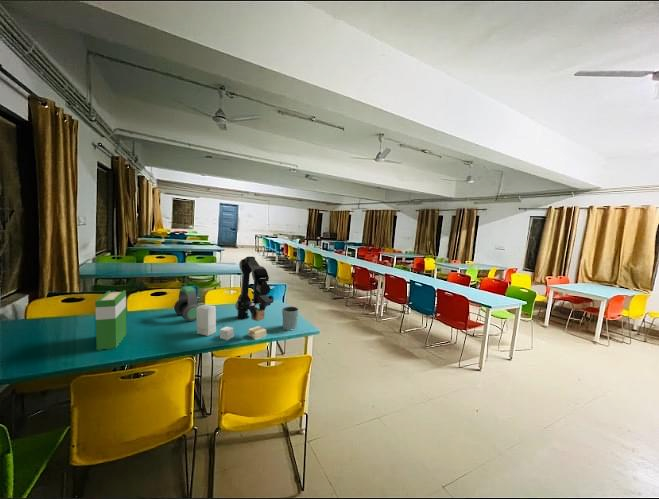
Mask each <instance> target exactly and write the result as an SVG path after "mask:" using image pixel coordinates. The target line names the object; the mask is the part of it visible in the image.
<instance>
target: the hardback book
mask: <svg viewBox="0 0 659 499" xmlns="http://www.w3.org/2000/svg"><path fill="white" fill-rule="evenodd" d="M126 292H127V290H126V289H125V290H122V291H115V292H113V291H112V292H111V290H108V291H106V292H105V293H104V294H102V295H101V296H100V297H99V298H97V299H96V300H95V301H94V302H95V304H94V305H95V340H96V341H95V343H96V351H97V350H98V351H103V350H102V349H107V350H115V349H114V348H116V349H117V348H118V347H119V345H120V344H121V342H122V341H123V339H124V338H123V337H125V336H126V335H127V334H126V333H127V293H126ZM121 340H122V341H121ZM119 343H120V344H119ZM117 346H118V347H117Z"/></svg>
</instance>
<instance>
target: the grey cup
mask: <svg viewBox="0 0 659 499" xmlns="http://www.w3.org/2000/svg"><path fill="white" fill-rule="evenodd" d="M281 310H282V311H281V312H282V313H281V314H282V328H284V330H285V329H287V330H286V331H292V330H291V329H295V328H296V329H297V327H298V319H299V308H298V307H297V306H285V307H282V308H281ZM296 329H295V330H296Z"/></svg>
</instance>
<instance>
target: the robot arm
mask: <svg viewBox="0 0 659 499" xmlns="http://www.w3.org/2000/svg"><path fill="white" fill-rule="evenodd" d="M238 267H239V270H240V271H241V285H240V286H241V288H240V294H239V295H238V296H237V301H236V302H235V305H234V306H235V310H237V315H236V316H235V318H236V319H239V320H242V321H243V320H246V319H249V318H250V316H249V312H250V315H251V314H252V317H253V318H254V319H255V316H256V309H258V308H259V309H262V310H266V308H267V307H268V306H271V304H272V303H273V304H274V296H273V295H272V294H271V295H268V294H269V293H270V292H271V287H270V285H269V284H268V282H269V281H270V280H269V279H270V276H269V274H268V270H267V269H266V268H265V267H264V266H262V265H260V264H259V263H258V261H257V260H256V256H246V257H245V258H243V259H240V261H239V264H238ZM250 276H251V277H252V279H253V291H251V294H253V295H252V296H253V298H250V296H249V287H250ZM257 305H258V307H257Z"/></svg>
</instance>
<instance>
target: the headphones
mask: <svg viewBox="0 0 659 499" xmlns="http://www.w3.org/2000/svg"><path fill="white" fill-rule="evenodd" d="M197 298H198V297H197V293H196V290H195V288H194V286H189V285H188V286H183V287H181V288H180V289H179V293H178V300H176V302H175V303H174V304H173V305H174V306H173V309H174V312H175V313H176V314H177V315H179V316H181V317H182V318H183V319H184V320H185V321H188V322H194V321H197V311H196V308H197V307H199V306H200V305H199V304H198V299H197Z"/></svg>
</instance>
